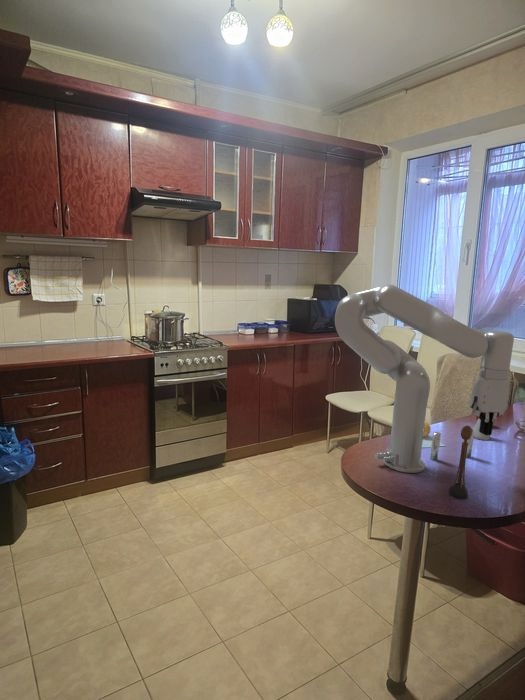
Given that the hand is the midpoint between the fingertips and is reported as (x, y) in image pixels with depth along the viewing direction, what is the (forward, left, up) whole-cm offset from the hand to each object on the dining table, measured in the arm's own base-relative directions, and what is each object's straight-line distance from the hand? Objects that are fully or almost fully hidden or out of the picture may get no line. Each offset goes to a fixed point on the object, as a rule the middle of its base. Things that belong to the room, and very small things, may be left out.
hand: (485, 433), depth 132 cm
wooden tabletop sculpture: (-14, -9, -14) cm, 22 cm away
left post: (-6, +13, -13) cm, 20 cm away
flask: (+25, +28, -14) cm, 40 cm away
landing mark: (0, +27, -13) cm, 30 cm away
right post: (+6, +13, -13) cm, 20 cm away
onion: (+36, +39, -14) cm, 55 cm away
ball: (+2, +32, -10) cm, 34 cm away
